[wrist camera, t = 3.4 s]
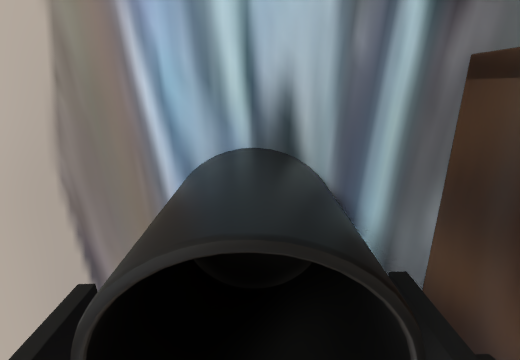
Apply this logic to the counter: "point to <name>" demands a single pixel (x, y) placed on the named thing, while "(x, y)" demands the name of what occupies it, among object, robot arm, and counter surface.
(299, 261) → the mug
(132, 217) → the counter surface
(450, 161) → the shelf
